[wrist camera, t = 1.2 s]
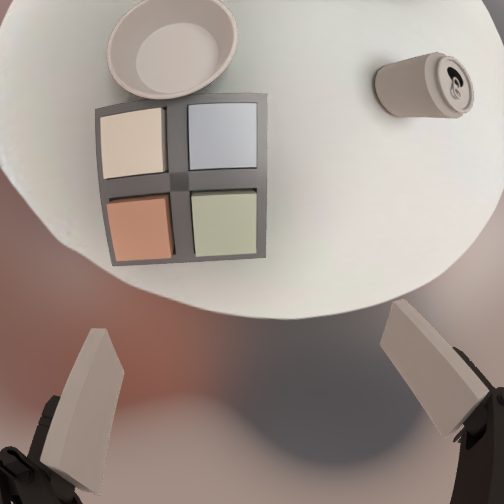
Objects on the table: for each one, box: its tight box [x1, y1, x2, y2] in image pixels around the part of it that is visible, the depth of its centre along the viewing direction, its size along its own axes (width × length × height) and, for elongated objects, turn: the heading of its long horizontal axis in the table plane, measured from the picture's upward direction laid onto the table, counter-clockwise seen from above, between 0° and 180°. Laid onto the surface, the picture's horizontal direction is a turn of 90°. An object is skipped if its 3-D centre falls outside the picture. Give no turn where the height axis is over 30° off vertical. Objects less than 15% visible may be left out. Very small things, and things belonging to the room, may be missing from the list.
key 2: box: [107, 193, 174, 261], centre depth 26 cm, size 6×6×2 cm
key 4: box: [100, 108, 167, 179], centre depth 22 cm, size 6×6×2 cm
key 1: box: [191, 189, 257, 257], centre depth 27 cm, size 6×6×2 cm
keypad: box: [95, 93, 267, 266], centre depth 27 cm, size 17×17×4 cm
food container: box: [107, 0, 238, 99], centre depth 20 cm, size 12×12×6 cm
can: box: [375, 52, 474, 118], centre depth 21 cm, size 8×8×12 cm
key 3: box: [189, 103, 257, 170], centre depth 23 cm, size 6×6×2 cm
